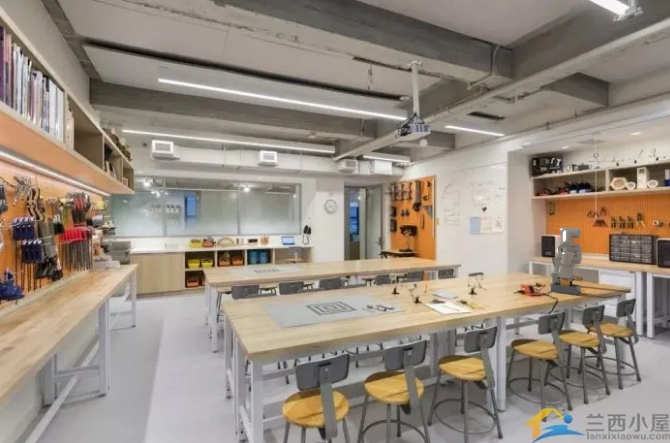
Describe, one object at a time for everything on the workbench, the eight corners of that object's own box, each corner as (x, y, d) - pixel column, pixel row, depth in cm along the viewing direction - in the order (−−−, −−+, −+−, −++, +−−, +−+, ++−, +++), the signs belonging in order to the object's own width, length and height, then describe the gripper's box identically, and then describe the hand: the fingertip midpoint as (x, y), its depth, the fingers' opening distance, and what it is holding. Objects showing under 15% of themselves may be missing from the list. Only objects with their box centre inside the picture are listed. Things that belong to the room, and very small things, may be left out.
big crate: (555, 289, 333) (555, 282, 333) (580, 292, 319) (580, 285, 319) (550, 292, 320) (550, 284, 320) (576, 295, 306) (576, 287, 306)
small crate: (562, 285, 325) (562, 278, 325) (571, 286, 320) (571, 279, 320) (560, 286, 318) (560, 279, 318) (569, 287, 313) (569, 281, 313)
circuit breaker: (568, 289, 333) (568, 273, 333) (551, 287, 340) (551, 272, 339) (567, 287, 340) (567, 272, 340) (550, 286, 346) (550, 271, 346)
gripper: (578, 266, 316) (577, 286, 316) (556, 264, 328) (555, 283, 328) (576, 267, 310) (576, 287, 310) (554, 265, 322) (553, 284, 322)
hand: (565, 284), depth 319 cm, fingers closed on small crate, 7 cm apart
